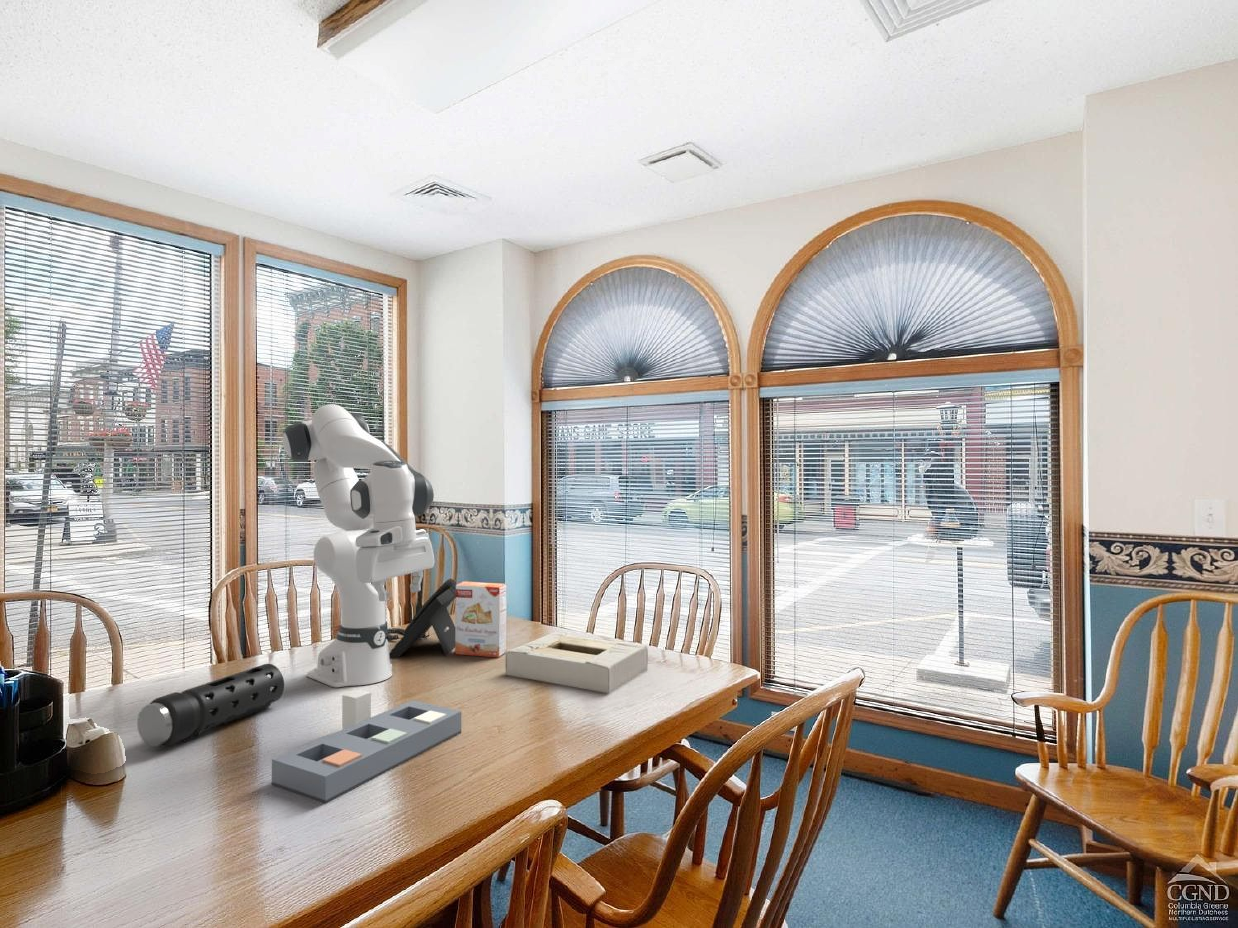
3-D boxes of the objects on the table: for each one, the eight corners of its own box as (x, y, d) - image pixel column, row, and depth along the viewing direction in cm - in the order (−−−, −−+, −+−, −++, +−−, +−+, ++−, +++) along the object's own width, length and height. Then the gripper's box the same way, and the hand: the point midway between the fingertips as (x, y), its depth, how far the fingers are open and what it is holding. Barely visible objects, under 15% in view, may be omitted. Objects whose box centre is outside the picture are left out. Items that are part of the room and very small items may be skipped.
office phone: (384, 632, 230) (384, 572, 229) (469, 633, 229) (469, 572, 229) (347, 658, 200) (347, 588, 200) (444, 659, 200) (444, 589, 199)
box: (503, 677, 184) (610, 695, 170) (503, 648, 185) (610, 664, 170) (550, 656, 205) (648, 671, 191) (550, 630, 205) (648, 643, 191)
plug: (342, 732, 146) (342, 694, 145) (357, 726, 149) (357, 689, 149) (355, 736, 144) (355, 698, 144) (370, 729, 147) (370, 692, 147)
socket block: (271, 784, 122) (271, 756, 122) (412, 720, 152) (412, 698, 152) (325, 803, 116) (325, 774, 116) (461, 732, 146) (461, 709, 146)
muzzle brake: (285, 709, 159) (285, 664, 159) (168, 758, 133) (167, 704, 133) (254, 703, 163) (254, 659, 163) (134, 750, 137) (134, 698, 137)
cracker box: (454, 655, 203) (454, 584, 203) (463, 649, 209) (463, 580, 208) (499, 658, 200) (499, 586, 199) (506, 652, 206) (507, 582, 205)
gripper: (417, 528, 163) (422, 586, 163) (348, 540, 145) (354, 605, 144) (438, 527, 160) (443, 586, 160) (370, 539, 142) (376, 606, 142)
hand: (400, 596), depth 152 cm, fingers open, 8 cm apart
